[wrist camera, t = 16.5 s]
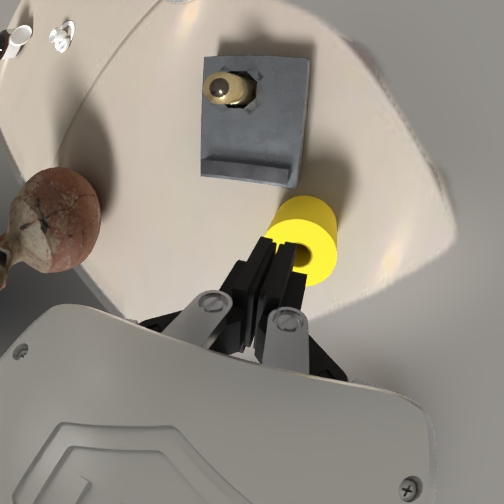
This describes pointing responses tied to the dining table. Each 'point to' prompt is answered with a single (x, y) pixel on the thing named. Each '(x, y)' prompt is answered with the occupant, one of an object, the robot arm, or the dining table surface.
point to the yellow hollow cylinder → (307, 235)
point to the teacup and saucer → (62, 36)
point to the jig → (257, 122)
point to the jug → (51, 223)
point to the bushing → (229, 89)
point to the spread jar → (13, 41)
